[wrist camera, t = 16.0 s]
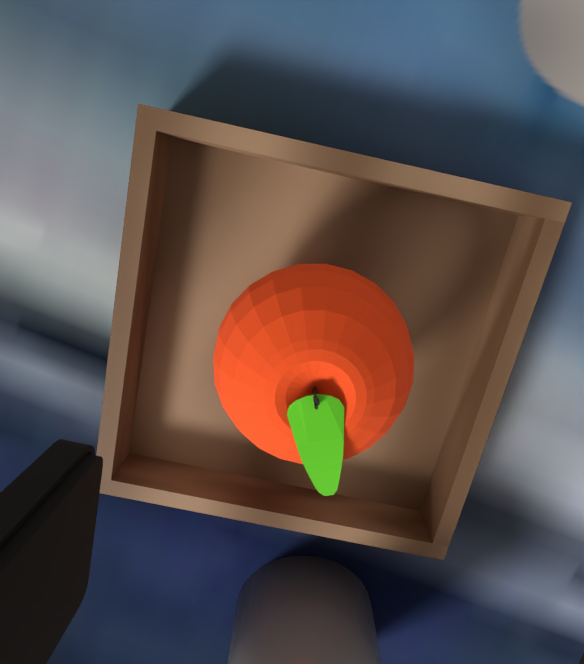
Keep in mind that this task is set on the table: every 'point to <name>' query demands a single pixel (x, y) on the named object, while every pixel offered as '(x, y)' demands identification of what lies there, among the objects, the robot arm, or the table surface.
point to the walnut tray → (312, 248)
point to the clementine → (313, 366)
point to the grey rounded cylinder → (304, 615)
